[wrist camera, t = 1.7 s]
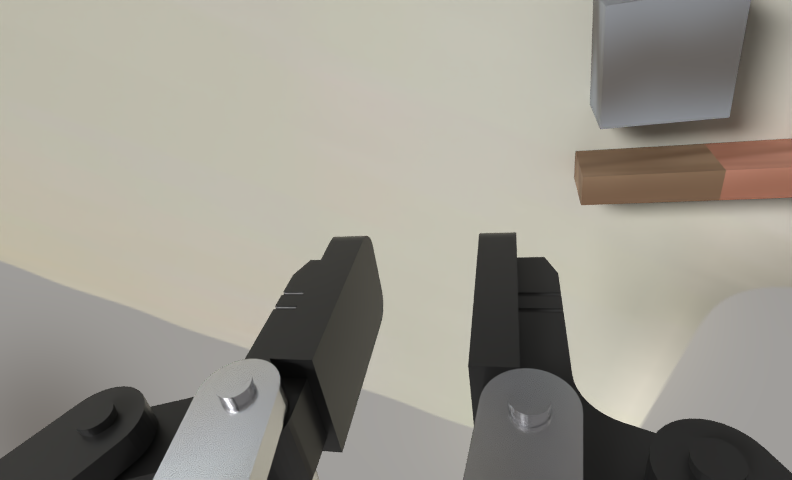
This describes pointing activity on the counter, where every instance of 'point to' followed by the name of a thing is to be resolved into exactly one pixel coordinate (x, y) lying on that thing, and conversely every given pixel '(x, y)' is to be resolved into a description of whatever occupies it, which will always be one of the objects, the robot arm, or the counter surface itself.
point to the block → (665, 60)
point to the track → (685, 173)
